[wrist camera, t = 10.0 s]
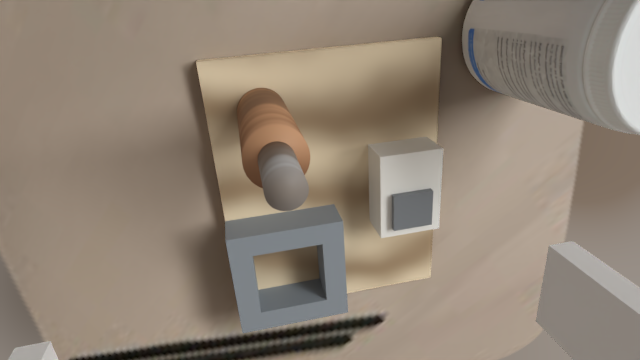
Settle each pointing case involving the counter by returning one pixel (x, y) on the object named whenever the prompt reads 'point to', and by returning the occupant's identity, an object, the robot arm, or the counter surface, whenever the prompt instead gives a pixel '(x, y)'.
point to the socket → (285, 235)
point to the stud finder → (405, 186)
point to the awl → (273, 149)
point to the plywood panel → (330, 145)
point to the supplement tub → (560, 56)
